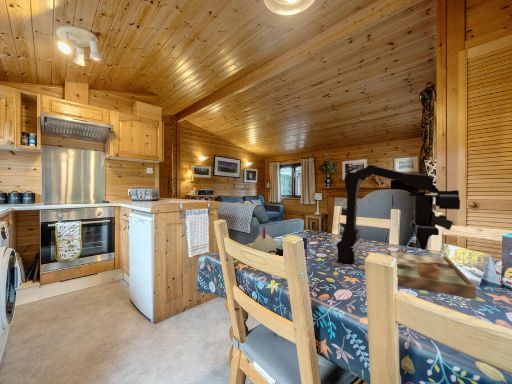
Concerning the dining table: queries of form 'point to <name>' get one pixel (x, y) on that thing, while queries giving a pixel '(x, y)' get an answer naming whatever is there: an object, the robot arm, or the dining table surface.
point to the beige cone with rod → (264, 243)
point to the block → (428, 271)
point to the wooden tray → (447, 283)
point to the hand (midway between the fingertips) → (423, 249)
